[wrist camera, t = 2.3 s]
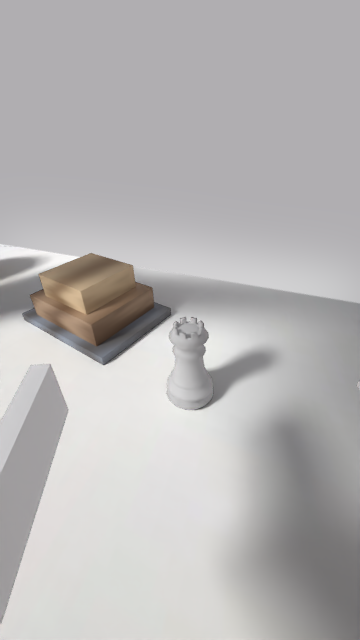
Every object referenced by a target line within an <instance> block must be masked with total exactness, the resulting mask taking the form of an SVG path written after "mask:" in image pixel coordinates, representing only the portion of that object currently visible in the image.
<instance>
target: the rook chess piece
mask: <svg viewBox="0 0 360 640" xmlns="http://www.w3.org/2000/svg"><path fill="white" fill-rule="evenodd" d="M208 338H209V336H208V332H207V331H206V329H205V328H204V323H203V322H202V321H199V322H198V323H197V318H193V317H191V322H186V317H184V318H180V323H179V322H177V321H175V322H174V324H173V329H172V330H171V332H170V333H169V339H170V341H171V342H172V343H173V344H174V347H173V353H174V355H175V367H174V369H173V371H172V372H171V374H170V376H169V377H168V380H167V396H168V398H169V400H170V401H171V402H172V403H173V404H174V405H175V406H177V407H179V408H182V409H185V410H195V409H198V408H201V407H203V406H205V405H206V404H207V403H208V402H209V401H210V400H211V398H212V396H213V382H212V378H211V376H210V375H209V373H208V372H207V370H206V369H205V367H204V361H203V355H204V353H205V351H206V350H205V346H204V345H203V344H204V343H206V341H207V339H208Z"/></svg>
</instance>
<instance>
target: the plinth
mask: <svg viewBox="0 0 360 640" xmlns="http://www.w3.org/2000/svg"><path fill="white" fill-rule="evenodd" d="M39 277H40V280H41V283H42V286H43V289H42V290H40V291H38V292H36V293H33V294H31V295H30V297H31V299H32V302H33V305H34V307H35V308H33V309H31V310H29V311H27V312H25V313H23V314H22V315H23V317H24V319H25V320H26V321H28V322H29V323H31V324H33V325H35V326H36V327H38V328H40V329H41V330H43V331H45V332H47V333H48V334H50V335H52V336H54V337H55V338H57V339H59V340H61V341H62V342H64V343H66V344H68V345H69V346H71V347H73V348H75V349H76V350H78V351H80V352H82V353H83V354H85V355H87V356H89V357H90V358H92V359H94V360H96V361H97V362H99V363H101V364H103V365H104V364H106V363H107V362H108V361H110V360H111V359H112V358H114V357H115V356H116V355H118V354H119V353H120V352H122V351H123V350H124V349H126V348H127V347H128V346H130V345H131V344H132V343H134V342H135V341H136V340H138V339H139V338H140V337H142V336H143V335H144V334H146V333H147V332H148V331H150V330H151V329H152V328H154V327H155V326H156V325H158V324H159V323H160V322H162V321H163V320H164V319H166V318H167V317H168V316H169V315H171V309H170V308H168V307H166V306H163V305H160V304H157V303H155V302H154V300H153V290H152V287H149V286H146V285H143V284H140V283H137V282H135V278H134V271H133V265H130V264H126V263H123V262H119V261H116V260H113V259H109V258H106V257H102V256H99V255H95V254H92V253H90V254H88V255H85V256H83V257H80V258H78V259H75V260H73V261H70V262H68V263H65V264H63V265H60V266H58V267H55V268H53V269H50V270H48V271H45V272H43V273H40V274H39Z"/></svg>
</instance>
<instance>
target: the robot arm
mask: <svg viewBox="0 0 360 640" xmlns="http://www.w3.org/2000/svg"><path fill="white" fill-rule="evenodd" d="M357 387H358V388H359V390H360V380H359V382H358V384H357ZM67 413H68V407H67V405H66V402H65V400H64V397H63V395H62V392H61V389H60V387H59V384H58V382H57V379H56V377H55V374H54V371H53V369H52V366H51V364H40V365H30V367H29V369H28V371H27V373H26V375H25V377H24V378H23V380H22V382H21V384H20V386H19V388H18V390H17V391H16V393H15V395H14V397H13V399H12V401H11V403H10V404H9V406H8V408H7V410H6V412H5V414H4V416H3V418H2V419H1V421H0V624H1V623H2V620H3V617H4V614H5V611H6V607H7V604H8V601H9V598H10V595H11V592H12V588H13V585H14V582H15V579H16V576H17V573H18V569H19V566H20V563H21V560H22V557H23V553H24V550H25V547H26V544H27V541H28V538H29V534H30V531H31V528H32V525H33V522H34V518H35V515H36V512H37V509H38V506H39V503H40V499H41V496H42V493H43V490H44V487H45V483H46V480H47V477H48V474H49V471H50V468H51V464H52V461H53V458H54V455H55V452H56V448H57V445H58V442H59V439H60V436H61V433H62V429H63V426H64V423H65V420H66V417H67Z"/></svg>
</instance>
